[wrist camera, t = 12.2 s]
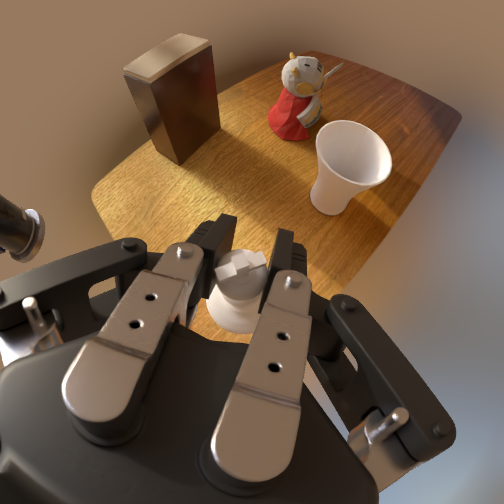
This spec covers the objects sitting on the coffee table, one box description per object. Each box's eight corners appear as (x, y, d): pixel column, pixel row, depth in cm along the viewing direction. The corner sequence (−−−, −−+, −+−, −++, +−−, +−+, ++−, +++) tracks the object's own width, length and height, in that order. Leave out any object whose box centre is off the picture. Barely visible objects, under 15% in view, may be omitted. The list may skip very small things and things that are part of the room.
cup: (286, 203, 43) (300, 153, 30) (316, 161, 45) (335, 108, 32) (341, 239, 41) (377, 202, 28) (366, 192, 44) (400, 148, 31)
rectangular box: (179, 166, 45) (148, 79, 25) (156, 150, 46) (120, 69, 26) (221, 128, 47) (211, 40, 28) (196, 114, 48) (180, 32, 29)
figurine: (320, 151, 46) (343, 92, 31) (260, 134, 47) (264, 71, 32) (329, 107, 49) (347, 52, 35) (276, 93, 50) (283, 36, 36)
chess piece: (291, 317, 18) (343, 303, 8) (222, 345, 17) (193, 364, 7) (262, 251, 19) (280, 172, 9) (196, 276, 18) (146, 220, 9)
